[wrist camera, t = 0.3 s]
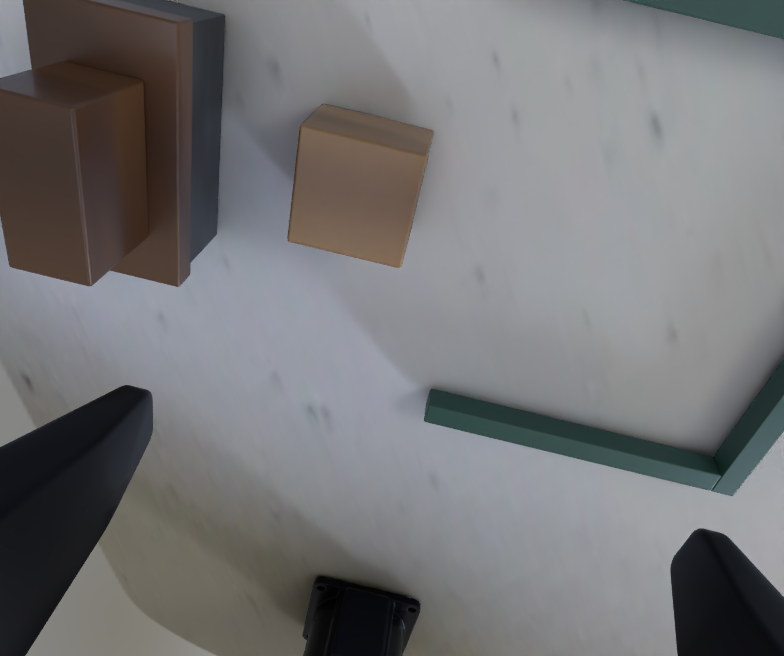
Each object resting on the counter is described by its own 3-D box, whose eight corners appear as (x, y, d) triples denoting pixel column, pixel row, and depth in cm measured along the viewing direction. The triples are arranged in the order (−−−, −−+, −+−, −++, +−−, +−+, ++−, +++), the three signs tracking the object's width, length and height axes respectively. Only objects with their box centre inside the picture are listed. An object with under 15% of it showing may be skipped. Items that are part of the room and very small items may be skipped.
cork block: (410, 233, 23) (400, 269, 20) (308, 209, 23) (286, 242, 20) (434, 129, 20) (428, 155, 18) (322, 102, 20) (299, 123, 18)
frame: (723, 476, 27) (732, 496, 26) (425, 404, 27) (423, 421, 26) (1038, 57, 17) (1072, 64, 16) (567, -57, 17) (573, -57, 16)
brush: (221, 240, 24) (129, 344, 18) (115, 214, 24) (-16, 309, 18) (231, 9, 19) (110, 39, 13) (99, -23, 19) (-86, -9, 13)
